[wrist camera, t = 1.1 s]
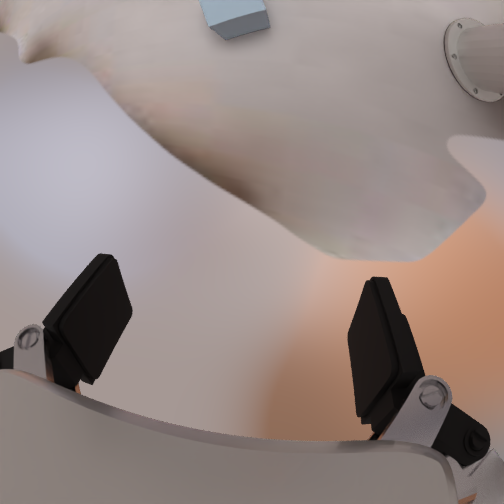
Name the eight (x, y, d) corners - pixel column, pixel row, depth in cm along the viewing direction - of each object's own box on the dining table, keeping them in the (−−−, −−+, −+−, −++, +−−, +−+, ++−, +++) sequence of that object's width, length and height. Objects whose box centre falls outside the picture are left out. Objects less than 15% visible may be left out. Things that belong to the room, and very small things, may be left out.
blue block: (256, -8, 22) (248, -32, 15) (270, 27, 24) (266, 9, 18) (212, 5, 23) (193, -15, 16) (225, 40, 26) (208, 26, 19)
